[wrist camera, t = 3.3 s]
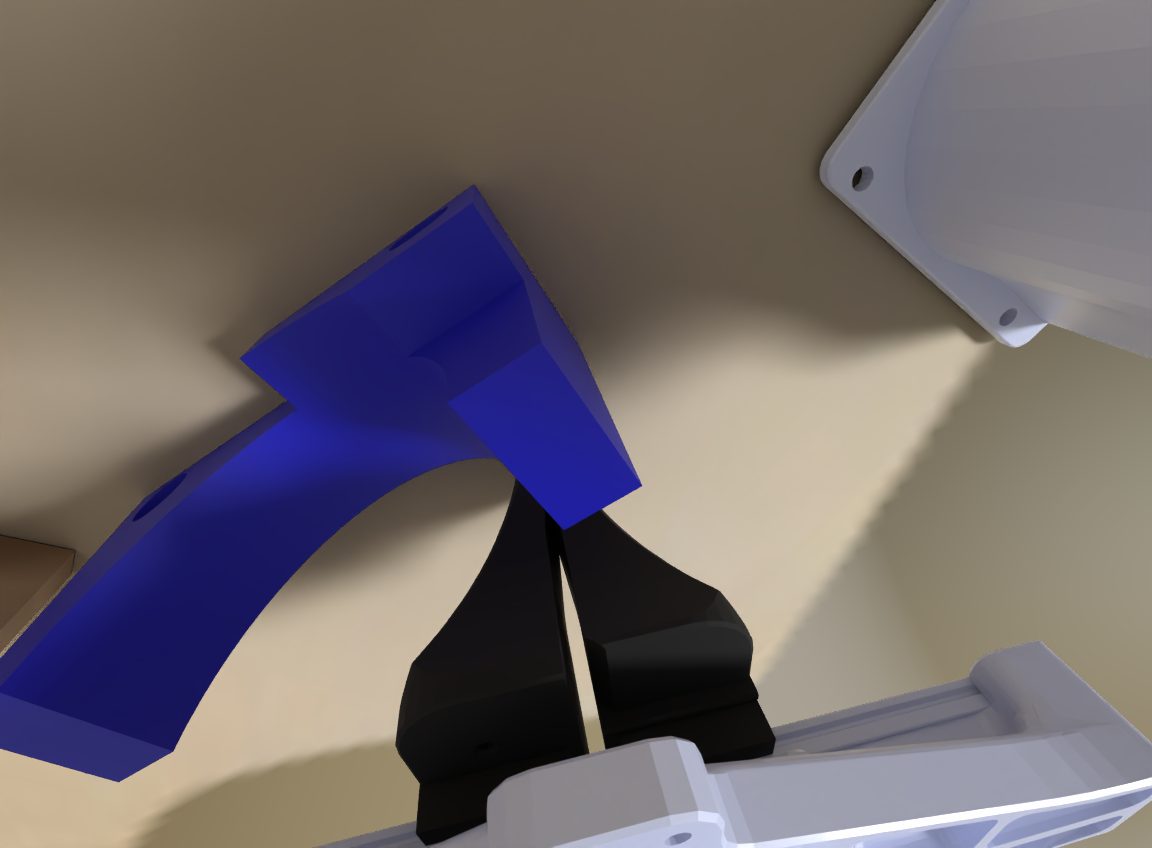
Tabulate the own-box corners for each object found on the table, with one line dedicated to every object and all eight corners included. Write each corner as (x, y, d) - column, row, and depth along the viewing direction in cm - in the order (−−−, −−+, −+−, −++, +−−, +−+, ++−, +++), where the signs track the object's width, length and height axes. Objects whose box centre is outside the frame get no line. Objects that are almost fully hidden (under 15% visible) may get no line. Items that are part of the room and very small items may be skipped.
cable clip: (474, 183, 10) (469, 238, 5) (578, 344, 13) (642, 485, 8) (88, 459, 12) (-186, 695, 7) (243, 554, 15) (118, 782, 10)
